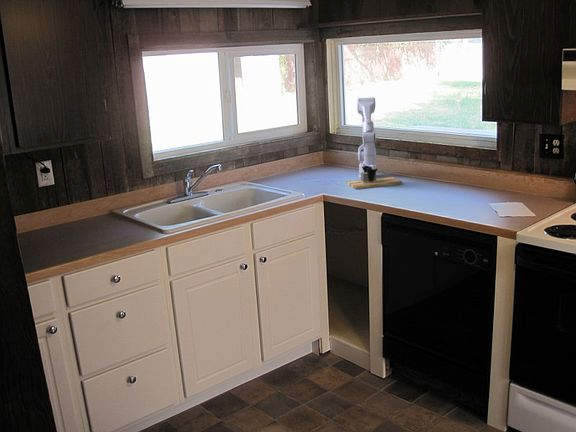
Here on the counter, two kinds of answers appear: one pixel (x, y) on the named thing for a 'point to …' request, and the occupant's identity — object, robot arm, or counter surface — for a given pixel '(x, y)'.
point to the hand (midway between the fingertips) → (369, 180)
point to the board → (375, 183)
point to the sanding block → (366, 178)
